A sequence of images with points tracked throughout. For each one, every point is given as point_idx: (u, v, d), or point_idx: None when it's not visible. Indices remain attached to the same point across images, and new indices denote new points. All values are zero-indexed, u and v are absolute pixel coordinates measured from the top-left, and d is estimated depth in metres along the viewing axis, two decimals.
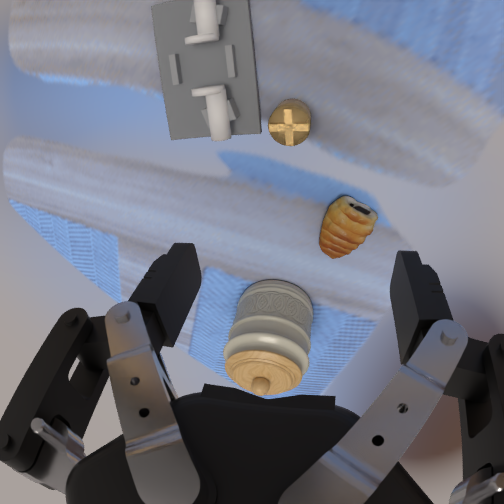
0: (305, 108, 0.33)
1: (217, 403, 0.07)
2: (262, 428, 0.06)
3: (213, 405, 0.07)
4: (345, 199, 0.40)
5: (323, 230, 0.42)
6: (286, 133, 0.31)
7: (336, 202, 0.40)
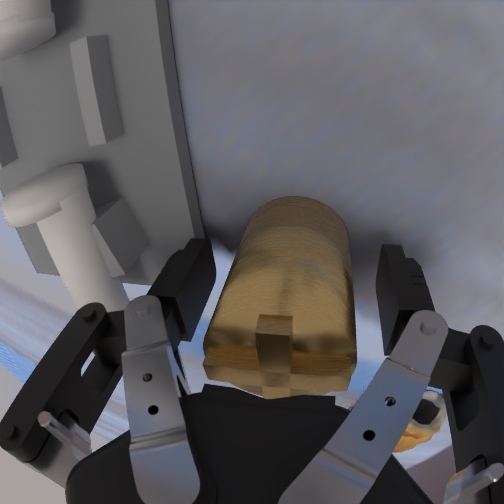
0: (341, 260, 0.10)
1: (217, 403, 0.07)
2: (262, 428, 0.06)
3: (213, 405, 0.07)
4: None
5: None
6: (267, 390, 0.09)
7: None
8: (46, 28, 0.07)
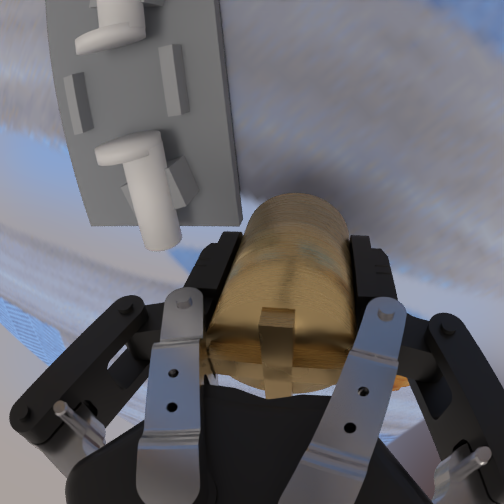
0: (342, 255, 0.10)
1: (217, 403, 0.07)
2: (262, 428, 0.06)
3: (213, 405, 0.07)
4: None
5: None
6: (269, 384, 0.09)
7: None
8: (143, 34, 0.12)
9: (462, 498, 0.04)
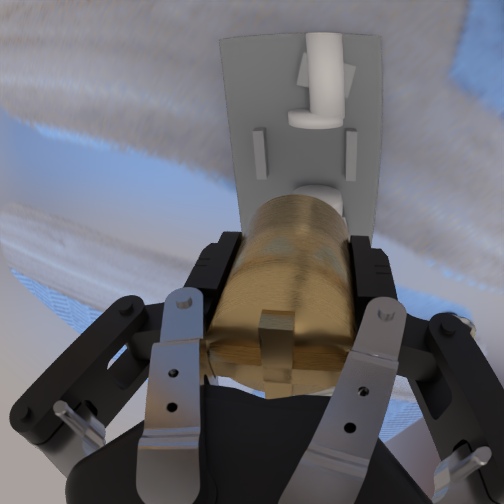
0: (342, 257, 0.10)
1: (217, 403, 0.07)
2: (262, 428, 0.06)
3: (213, 405, 0.07)
4: None
5: None
6: (268, 386, 0.09)
7: None
8: None
9: (462, 499, 0.04)
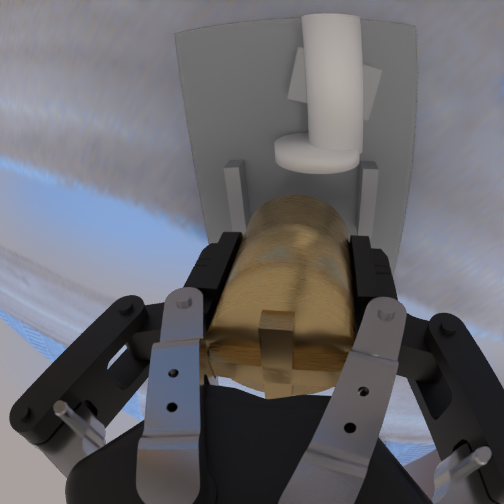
0: (342, 257, 0.10)
1: (217, 403, 0.07)
2: (262, 428, 0.06)
3: (213, 405, 0.07)
4: None
5: None
6: (268, 386, 0.09)
7: None
8: None
9: (462, 498, 0.04)
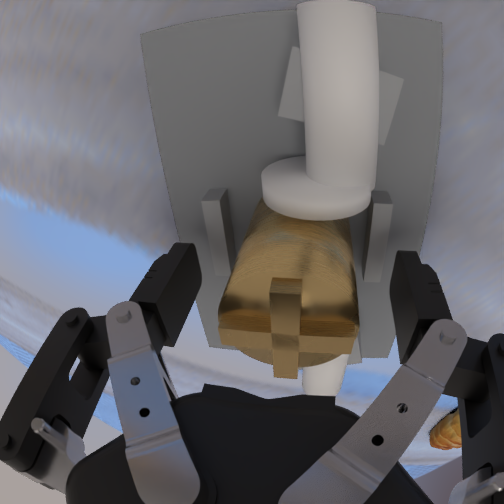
0: (343, 236, 0.11)
1: (217, 403, 0.07)
2: (262, 428, 0.06)
3: (213, 405, 0.07)
4: None
5: (442, 437, 0.24)
6: (277, 354, 0.10)
7: None
8: None
9: None
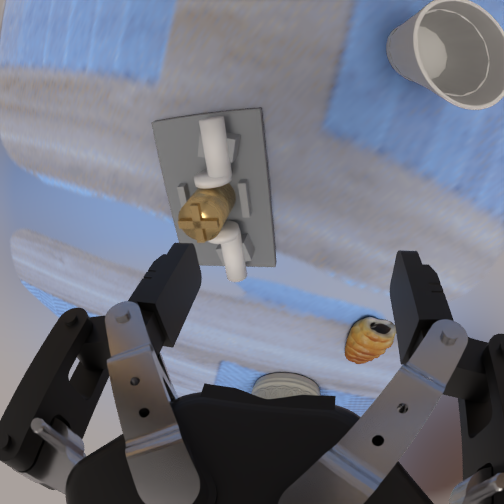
0: (222, 194, 0.32)
1: (217, 403, 0.07)
2: (262, 428, 0.06)
3: (213, 405, 0.07)
4: (366, 322, 0.41)
5: (348, 346, 0.44)
6: (196, 230, 0.30)
7: (358, 325, 0.42)
8: (231, 178, 0.32)
9: None
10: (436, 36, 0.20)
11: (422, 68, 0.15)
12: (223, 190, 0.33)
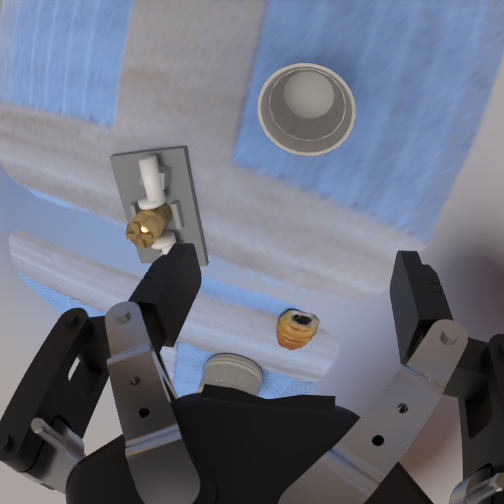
0: (158, 213, 0.42)
1: (217, 403, 0.07)
2: (262, 428, 0.06)
3: (213, 405, 0.07)
4: (289, 314, 0.52)
5: (277, 334, 0.55)
6: (138, 240, 0.41)
7: (283, 316, 0.53)
8: (165, 201, 0.42)
9: None
10: (324, 78, 0.30)
11: (265, 130, 0.25)
12: (160, 209, 0.43)
